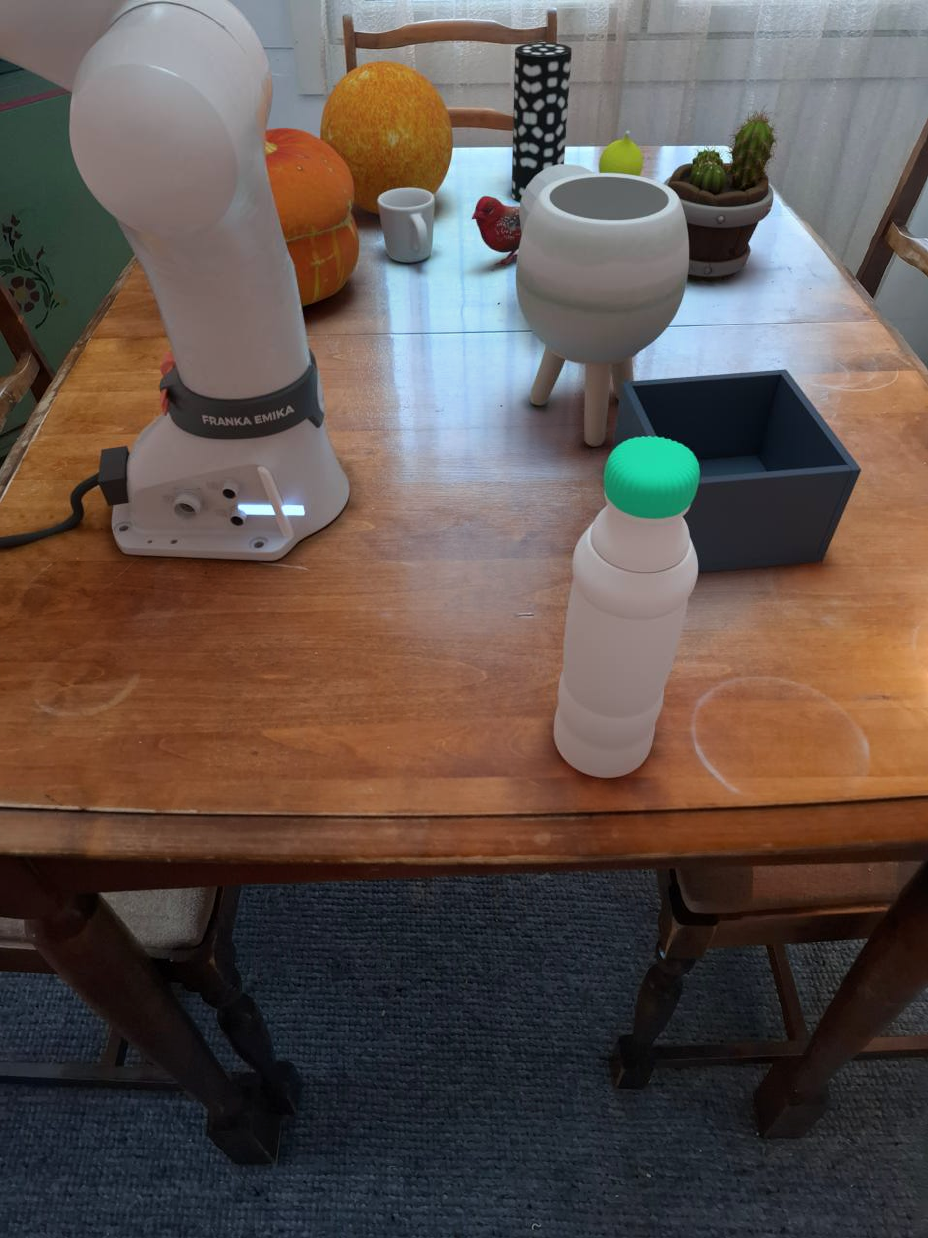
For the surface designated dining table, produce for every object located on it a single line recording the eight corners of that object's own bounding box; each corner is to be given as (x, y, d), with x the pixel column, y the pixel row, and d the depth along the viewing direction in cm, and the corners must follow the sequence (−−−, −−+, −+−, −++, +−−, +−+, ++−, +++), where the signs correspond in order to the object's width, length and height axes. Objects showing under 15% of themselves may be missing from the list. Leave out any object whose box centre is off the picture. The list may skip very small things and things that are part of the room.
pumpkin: (251, 356, 97) (210, 178, 83) (170, 293, 109) (122, 128, 95) (402, 298, 107) (390, 130, 92) (312, 246, 119) (289, 90, 104)
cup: (452, 269, 113) (450, 209, 107) (398, 279, 111) (394, 219, 105) (426, 241, 120) (423, 183, 114) (375, 250, 118) (369, 192, 112)
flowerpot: (644, 287, 108) (669, 118, 93) (653, 241, 118) (677, 83, 103) (755, 297, 106) (799, 125, 91) (754, 249, 116) (794, 88, 101)
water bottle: (647, 790, 55) (729, 508, 37) (546, 773, 56) (577, 491, 38) (652, 709, 60) (726, 423, 42) (558, 695, 61) (591, 411, 43)
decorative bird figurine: (465, 274, 112) (463, 198, 105) (553, 238, 120) (557, 165, 112) (479, 280, 110) (478, 204, 103) (567, 244, 118) (572, 170, 111)
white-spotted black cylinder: (504, 189, 134) (507, 45, 119) (550, 183, 135) (559, 40, 121) (521, 207, 128) (526, 58, 114) (569, 200, 130) (580, 53, 115)
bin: (650, 577, 70) (670, 485, 62) (609, 470, 80) (621, 381, 73) (822, 561, 71) (861, 469, 63) (759, 458, 81) (786, 368, 74)
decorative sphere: (339, 188, 135) (322, 46, 121) (457, 188, 135) (454, 44, 120) (320, 236, 122) (298, 82, 107) (451, 235, 121) (447, 80, 106)
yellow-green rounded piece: (620, 199, 130) (628, 129, 123) (588, 187, 134) (594, 119, 126) (648, 187, 133) (657, 119, 126) (615, 177, 137) (623, 110, 129)
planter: (489, 393, 91) (490, 179, 74) (615, 365, 94) (643, 156, 78) (549, 473, 80) (566, 245, 64) (688, 438, 84) (738, 214, 68)
